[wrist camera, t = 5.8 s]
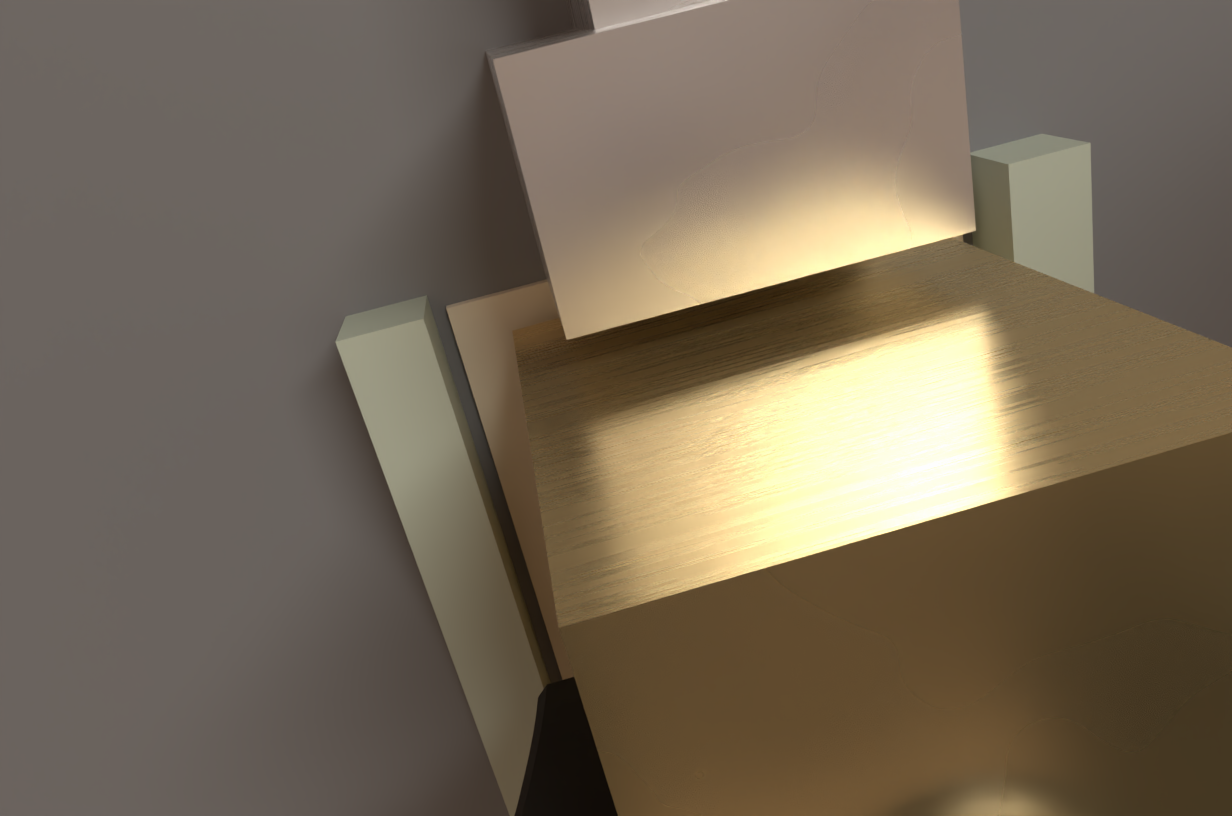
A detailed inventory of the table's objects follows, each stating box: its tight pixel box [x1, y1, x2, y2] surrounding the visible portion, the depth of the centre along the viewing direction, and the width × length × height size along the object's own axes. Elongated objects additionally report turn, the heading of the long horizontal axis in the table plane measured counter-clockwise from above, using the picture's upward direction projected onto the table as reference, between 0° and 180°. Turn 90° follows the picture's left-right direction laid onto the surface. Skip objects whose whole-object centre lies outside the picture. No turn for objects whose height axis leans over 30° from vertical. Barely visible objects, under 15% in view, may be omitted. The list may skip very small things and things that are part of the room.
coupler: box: [512, 237, 1232, 816], centre depth 8 cm, size 7×4×6 cm, turn 13°
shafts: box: [485, 0, 976, 340], centre depth 10 cm, size 5×24×2 cm, turn 13°
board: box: [0, 0, 1232, 816], centre depth 11 cm, size 18×24×2 cm
